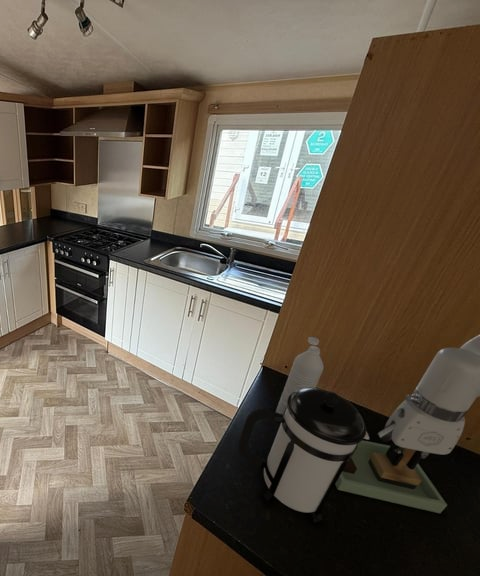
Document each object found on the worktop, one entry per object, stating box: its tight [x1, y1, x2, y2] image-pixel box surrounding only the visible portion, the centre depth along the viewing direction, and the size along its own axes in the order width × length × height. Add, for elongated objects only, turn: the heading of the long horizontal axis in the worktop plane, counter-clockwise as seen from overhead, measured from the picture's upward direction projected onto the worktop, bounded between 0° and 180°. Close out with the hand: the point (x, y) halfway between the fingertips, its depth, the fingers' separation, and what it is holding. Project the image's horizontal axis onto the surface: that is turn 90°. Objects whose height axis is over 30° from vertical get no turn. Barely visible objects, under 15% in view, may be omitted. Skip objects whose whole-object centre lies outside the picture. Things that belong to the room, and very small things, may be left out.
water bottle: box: [275, 336, 325, 417], centre depth 86 cm, size 9×6×25 cm
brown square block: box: [343, 458, 357, 474], centre depth 77 cm, size 4×4×2 cm
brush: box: [368, 448, 422, 489], centre depth 72 cm, size 7×5×10 cm
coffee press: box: [238, 387, 370, 525], centre depth 65 cm, size 17×16×30 cm
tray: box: [334, 439, 448, 514], centre depth 75 cm, size 20×14×3 cm
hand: (399, 461), depth 72 cm, fingers closed on brush, 2 cm apart
